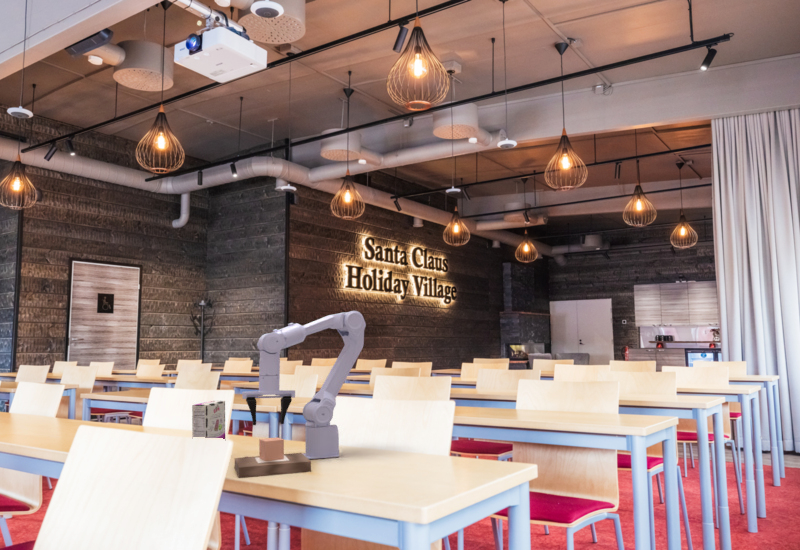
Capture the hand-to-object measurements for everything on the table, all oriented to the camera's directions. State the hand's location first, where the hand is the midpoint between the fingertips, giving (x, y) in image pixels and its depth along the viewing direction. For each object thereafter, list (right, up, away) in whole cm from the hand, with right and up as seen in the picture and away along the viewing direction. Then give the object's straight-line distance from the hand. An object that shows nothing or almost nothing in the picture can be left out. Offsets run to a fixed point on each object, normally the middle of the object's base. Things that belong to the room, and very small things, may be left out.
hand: (268, 424), depth 175 cm
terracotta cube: (+3, -7, -11) cm, 13 cm away
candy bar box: (-18, -12, +5) cm, 22 cm away
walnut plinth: (+3, -9, -12) cm, 15 cm away
